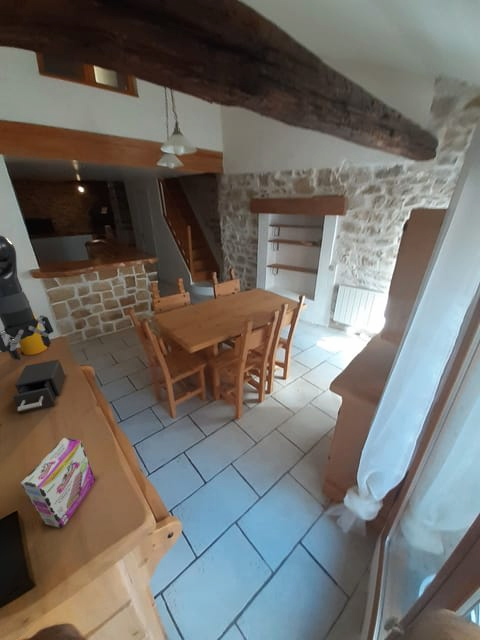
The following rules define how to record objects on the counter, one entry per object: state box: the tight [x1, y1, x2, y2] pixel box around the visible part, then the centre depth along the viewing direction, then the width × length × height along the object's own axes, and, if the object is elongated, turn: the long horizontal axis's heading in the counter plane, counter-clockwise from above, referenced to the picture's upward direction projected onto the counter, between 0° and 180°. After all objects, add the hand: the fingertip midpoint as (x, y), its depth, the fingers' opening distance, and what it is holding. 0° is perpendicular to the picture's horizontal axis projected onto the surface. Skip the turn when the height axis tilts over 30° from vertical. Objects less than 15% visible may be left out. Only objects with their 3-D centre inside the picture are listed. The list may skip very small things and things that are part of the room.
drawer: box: [12, 380, 57, 415], centre depth 87 cm, size 15×9×8 cm, turn 23°
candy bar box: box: [20, 437, 96, 529], centre depth 58 cm, size 11×5×16 cm, turn 169°
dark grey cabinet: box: [14, 359, 66, 397], centre depth 93 cm, size 12×11×10 cm
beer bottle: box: [18, 312, 48, 356], centre depth 112 cm, size 9×9×29 cm
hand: (33, 352), depth 82 cm, fingers open, 8 cm apart
